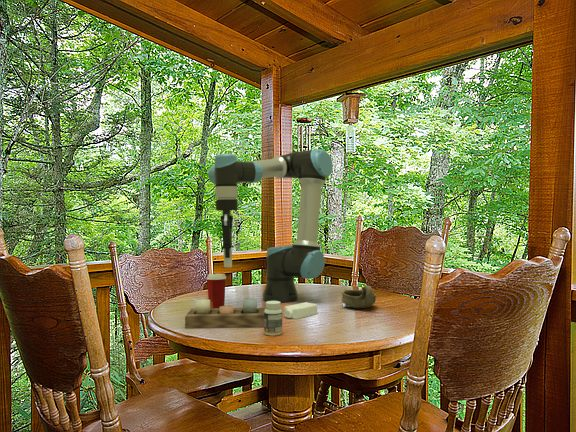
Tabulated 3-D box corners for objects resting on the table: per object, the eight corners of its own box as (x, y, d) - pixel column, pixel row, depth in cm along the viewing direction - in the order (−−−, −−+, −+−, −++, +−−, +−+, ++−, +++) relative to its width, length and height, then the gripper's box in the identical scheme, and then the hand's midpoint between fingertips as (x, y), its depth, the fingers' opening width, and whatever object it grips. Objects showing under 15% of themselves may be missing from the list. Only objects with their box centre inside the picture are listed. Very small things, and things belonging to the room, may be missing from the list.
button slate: (257, 311, 159) (257, 298, 159) (256, 314, 155) (256, 301, 155) (243, 311, 159) (243, 298, 159) (242, 314, 154) (242, 301, 154)
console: (265, 318, 163) (264, 307, 163) (264, 327, 151) (264, 315, 151) (191, 319, 162) (191, 308, 162) (185, 328, 150) (185, 316, 150)
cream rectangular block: (280, 318, 165) (280, 306, 165) (304, 312, 174) (304, 301, 174) (293, 321, 160) (293, 309, 160) (317, 315, 170) (317, 303, 170)
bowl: (367, 303, 189) (366, 279, 189) (386, 312, 172) (386, 285, 172) (335, 305, 186) (335, 280, 186) (352, 314, 169) (352, 287, 169)
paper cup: (230, 309, 179) (229, 273, 179) (220, 313, 172) (220, 276, 171) (212, 308, 181) (211, 273, 181) (202, 312, 174) (202, 275, 174)
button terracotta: (234, 318, 159) (234, 305, 159) (233, 321, 154) (232, 308, 154) (220, 318, 159) (220, 305, 159) (218, 321, 154) (218, 308, 154)
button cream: (211, 311, 159) (211, 299, 159) (209, 314, 154) (209, 301, 154) (197, 311, 159) (197, 299, 159) (194, 314, 154) (194, 301, 154)
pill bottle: (263, 331, 146) (263, 300, 146) (281, 331, 146) (281, 300, 146) (264, 336, 140) (264, 304, 140) (283, 335, 141) (282, 303, 141)
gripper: (217, 199, 165) (219, 264, 165) (213, 199, 152) (215, 269, 152) (238, 199, 165) (240, 264, 165) (236, 198, 152) (237, 269, 152)
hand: (228, 266), depth 159 cm, fingers closed
